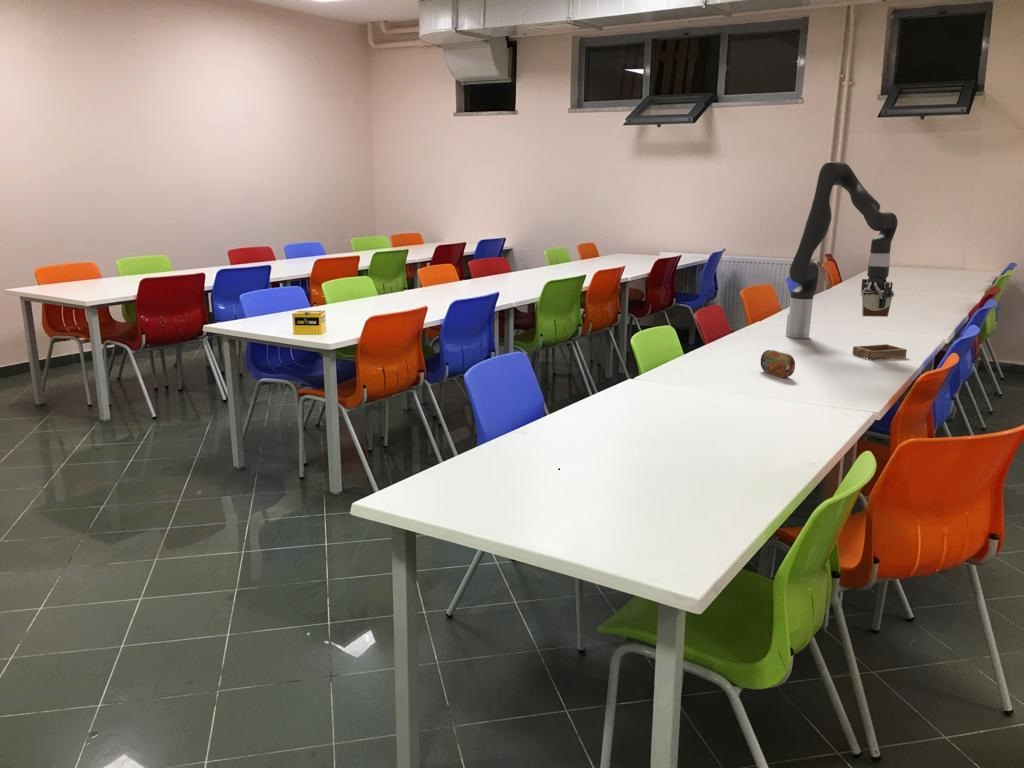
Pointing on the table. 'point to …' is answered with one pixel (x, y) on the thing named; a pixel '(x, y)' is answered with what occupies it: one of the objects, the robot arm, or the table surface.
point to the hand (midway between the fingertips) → (874, 306)
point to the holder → (879, 351)
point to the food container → (874, 304)
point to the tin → (777, 363)
